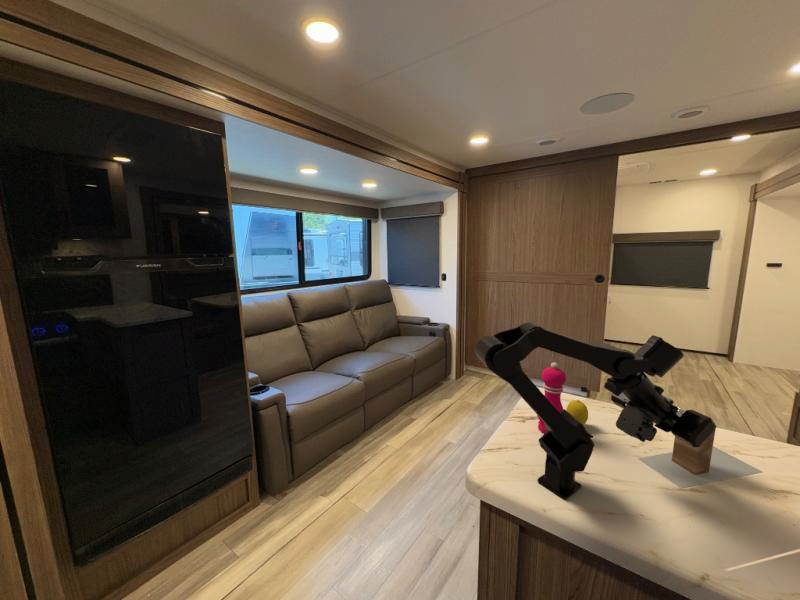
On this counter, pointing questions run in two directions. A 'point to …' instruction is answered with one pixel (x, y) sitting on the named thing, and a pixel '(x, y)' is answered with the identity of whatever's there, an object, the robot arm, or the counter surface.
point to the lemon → (578, 411)
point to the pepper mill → (552, 389)
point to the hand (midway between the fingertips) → (675, 431)
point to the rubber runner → (719, 470)
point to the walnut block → (693, 455)
